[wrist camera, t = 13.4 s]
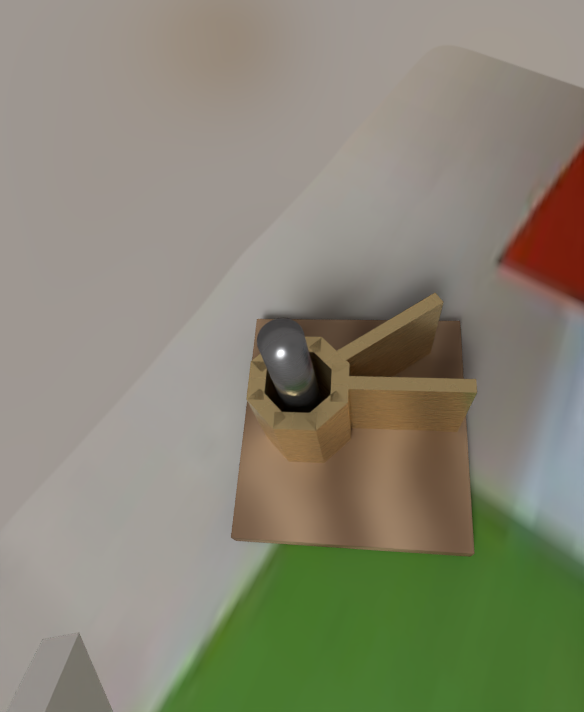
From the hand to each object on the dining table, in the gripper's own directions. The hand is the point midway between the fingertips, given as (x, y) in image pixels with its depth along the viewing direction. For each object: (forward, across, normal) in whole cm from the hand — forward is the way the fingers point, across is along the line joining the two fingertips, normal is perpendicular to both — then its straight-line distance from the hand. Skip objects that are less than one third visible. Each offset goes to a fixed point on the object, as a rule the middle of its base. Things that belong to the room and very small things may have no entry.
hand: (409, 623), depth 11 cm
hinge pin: (+26, -2, -7) cm, 27 cm away
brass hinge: (+26, +2, -7) cm, 27 cm away
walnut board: (+26, +1, -9) cm, 28 cm away
